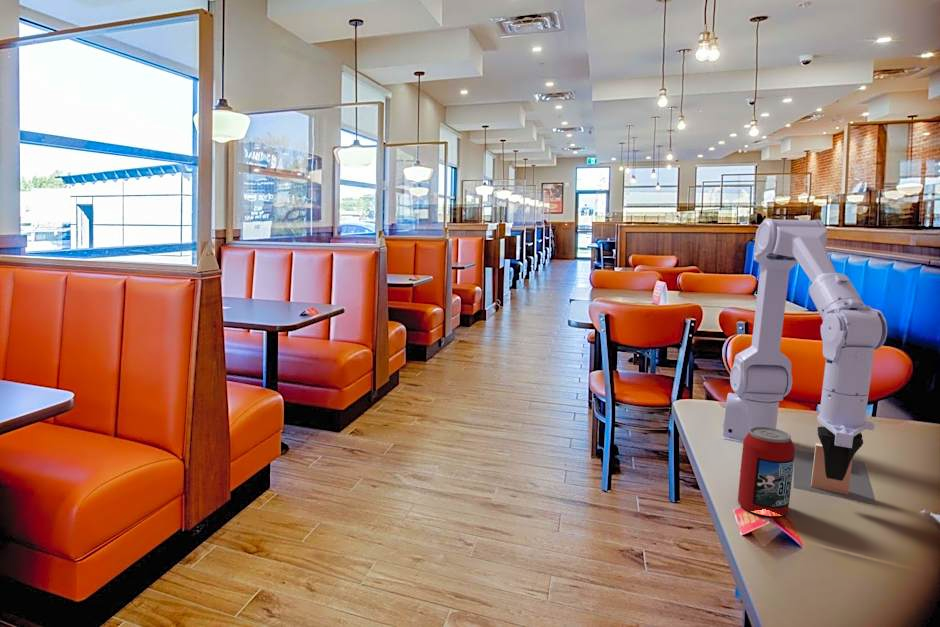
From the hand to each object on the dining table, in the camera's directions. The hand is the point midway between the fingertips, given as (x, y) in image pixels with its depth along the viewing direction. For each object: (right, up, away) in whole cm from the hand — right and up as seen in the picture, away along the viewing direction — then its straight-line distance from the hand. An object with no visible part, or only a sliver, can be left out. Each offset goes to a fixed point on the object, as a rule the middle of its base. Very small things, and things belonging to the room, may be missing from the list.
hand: (834, 477), depth 86 cm
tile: (+3, -3, +6) cm, 7 cm away
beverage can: (-11, -5, -1) cm, 12 cm away
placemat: (+7, -3, +12) cm, 14 cm away
